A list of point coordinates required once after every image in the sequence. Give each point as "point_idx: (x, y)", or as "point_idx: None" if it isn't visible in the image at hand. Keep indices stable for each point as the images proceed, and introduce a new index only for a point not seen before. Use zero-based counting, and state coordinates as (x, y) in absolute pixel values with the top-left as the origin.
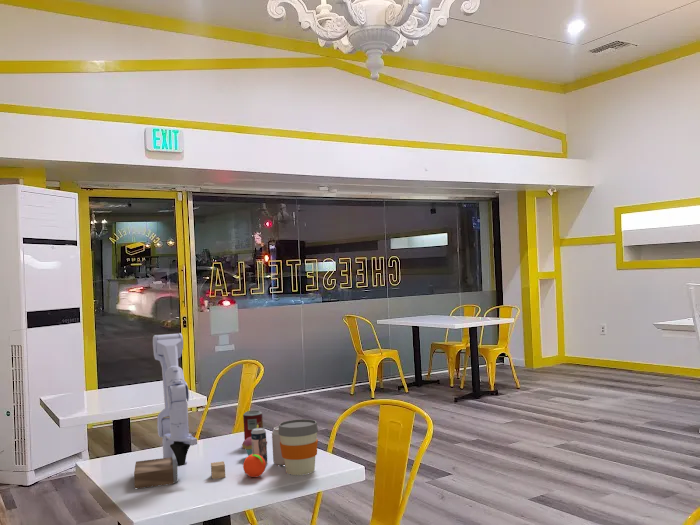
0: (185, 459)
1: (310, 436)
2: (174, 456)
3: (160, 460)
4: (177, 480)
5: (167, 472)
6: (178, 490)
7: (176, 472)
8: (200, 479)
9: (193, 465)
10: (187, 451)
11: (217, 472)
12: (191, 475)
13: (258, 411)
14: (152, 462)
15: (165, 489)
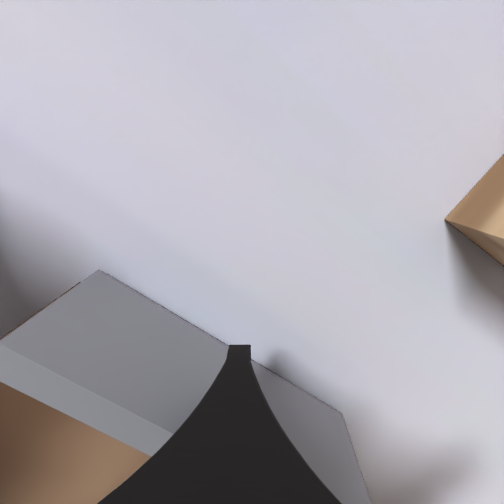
0: (252, 368)
1: None
2: (119, 422)
3: (29, 445)
4: (343, 421)
5: None
6: (449, 473)
7: (357, 473)
8: (427, 310)
9: (62, 96)
10: (284, 432)
11: None
12: (294, 284)
13: None
14: (38, 500)
15: (369, 490)
